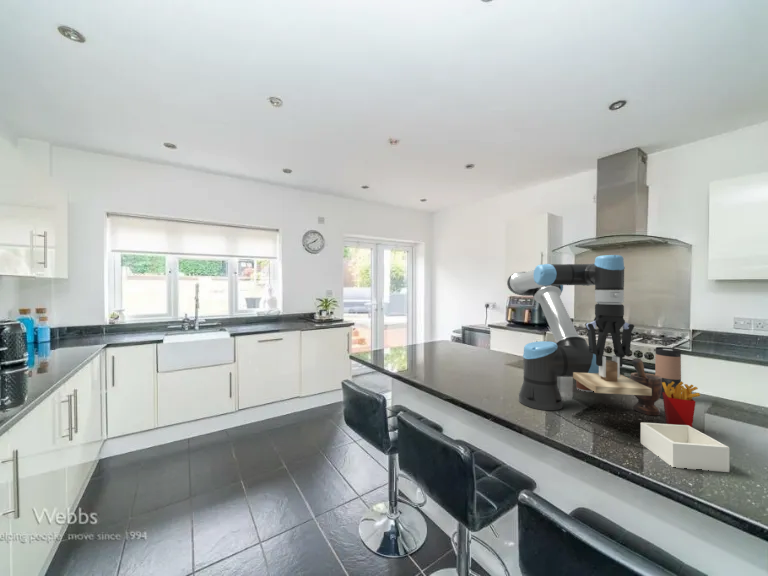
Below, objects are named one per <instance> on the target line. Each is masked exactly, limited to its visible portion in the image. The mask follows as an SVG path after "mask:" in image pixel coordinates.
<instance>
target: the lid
mask: <svg viewBox="0 0 768 576" xmlns="http://www.w3.org/2000/svg"><path fill="white" fill-rule="evenodd" d="M617 370H618V363H617V362H614V361H612V359H611V360H610V359H606V377H602V376H600V375H599V373H577V372H573V377H572V378H573V379H574V380H575V381H576V380H577V381H578V382H580V383H581V384H583V385H584V386H586V387H587V388H589V389H590V390H592V391H594V393H595V394H611V395H612V394H613V395H626V396H627V395H629V396H630V395H631V396H634V395H647V396H652V389H651V388H649V387H647V386H644V385H642V384H640V383H638V382H636V381H634V380H632V379H630V377H627V376H625V375H624V374H621V373H620V378H617Z"/></svg>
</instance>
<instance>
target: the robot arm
mask: <svg viewBox="0 0 768 576" xmlns="http://www.w3.org/2000/svg"><path fill="white" fill-rule="evenodd" d="M625 267H626V266H625V261H624V256H622V255H621V254H620V255H619V254H608V255H607V254H605V255H599V256H598V255H597V256H596V257H595V259H594V263H567V264H563V263H562V264H561V263H559V264H557V263H556V264H555V263H553V264H551V263H545V264H544V263H543V264H538V265H536V266H535V268H534V269H531V270H529V271H518V272H514V273H512V274H511V275H510V276H509V277H508V278H507V281H506V282H507V284H506V285H507V288H508V290H509V291H510V292H511V293H513V294H515V295H519V296H524V297H526V296H528V297H533V300H534V301H535V302H536V303H538V304H540V306H541V309H542V312H543V314H544V316H545V320H546V321H547V325H548V326H549V328H550V331H551V334H552V336H553V339H554V341H555V342H553V341H549V340H548V341H544V340H543V341H542V340H541V341H532V342H528V343H527V344H525V345H524V346H523V355H522V359H523V381H522V384H521V387H520V390H519V393H518V402H519V403H521V405H523V406H526V407H529V408H532V409H536V410H542V411H558V410H560V409H562V408H563V402H564V401H563V398H562V395H561V392H560V389H559V386H558V377H560V378H562V377H563V378H564V377H565V378H573V372H577V373H599V375H600V376H602V377H606V360H607V357H606V356H605V355H604V352H605V347H606V343H607V337H608V336H609V333H610V336H611V340H612V341H611V342H612V346H613V351H614V355H613V354H612V355H611V360H612V361H614V362H617V363H618V370H617V378H620V374H621V373H620V372H621V371H620V368H622V367H623V358H625V357H626V356H629V355H630V354H631V342H632V332H633V330H634V328H635V325H634V324H632V323H628V322H626V320H625V318H624V315H625V305H624V304H623V303H625V297H624V296H625V290H624V289H625V288H624V287H625V269H626V268H625ZM564 286H594V302H595V304H594V315H595V317H594V318H593V321H591V322H586V323H584V326H585V328H586V329H587V330H586V331H587V338H588V339H587V340H588V343H587V340H586V339H585V338H584V337H583V336H579V333H578V331H577V330H576V327H575V325H574V323H573V321H572V318H570V316H569V313H568V311H567V309H566V307H565V305H564V303H563V301H562V298H561V295H562V293H563V290H564ZM596 327H597V329H598V330H597V334H598V336H596V335H597V334H596ZM621 329H622V332H621ZM621 333H622V337H621Z"/></svg>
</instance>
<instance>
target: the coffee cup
mask: <svg viewBox="0 0 768 576" xmlns="http://www.w3.org/2000/svg"><path fill="white" fill-rule="evenodd" d="M575 386H576V389H577V390H578V389H579V390H578V391H580V390H581V391H580V392H584V391H586V393H593V391H592V390H590V389H589V388H587V387H586V386H584V385H583V384H581V383H580V382H578V381H577V380H575Z"/></svg>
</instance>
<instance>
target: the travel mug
mask: <svg viewBox="0 0 768 576" xmlns="http://www.w3.org/2000/svg"><path fill="white" fill-rule="evenodd" d="M681 352H682V350H681V349H679V348H673V347H666V346H665V347H663V346H661V347H660V346H658V347H657V346H656V347H655V359H654V360H655V363H654V364H655V365H654V366H655V369H654V373H655V374H654V375H658V376H660V377H662V382H665V384H666V386H668V384H670V383H671V382H672V381H673V382H674V384H673V385H672V387H674V389H675V388H676V386H677V385H678V384H679V383H680V382H681V381H682V355H681V354H682V353H681ZM670 391H671V389H670ZM662 392H665V390H664V387H663V385H662V391H661V396H660V398H659V400H660V399H661V400H663V393H662Z"/></svg>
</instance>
